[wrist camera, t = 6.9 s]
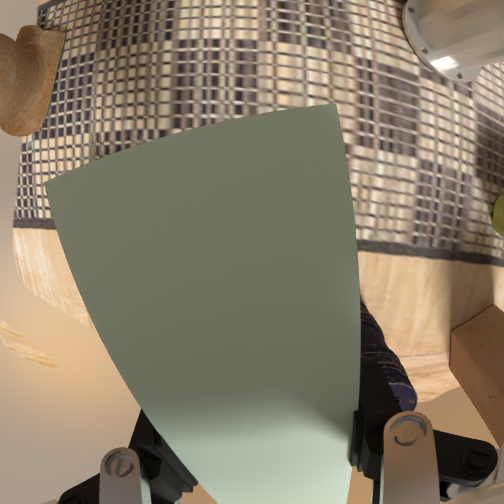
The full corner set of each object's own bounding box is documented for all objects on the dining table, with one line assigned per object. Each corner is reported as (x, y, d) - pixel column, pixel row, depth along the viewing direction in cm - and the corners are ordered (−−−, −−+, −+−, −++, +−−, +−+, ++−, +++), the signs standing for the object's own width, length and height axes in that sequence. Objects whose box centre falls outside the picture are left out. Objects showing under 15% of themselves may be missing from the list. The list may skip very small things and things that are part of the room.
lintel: (126, 165, 8) (43, 182, 4) (294, 125, 8) (335, 103, 4) (242, 468, 13) (242, 527, 9) (331, 455, 13) (344, 513, 9)
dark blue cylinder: (325, 368, 38) (349, 457, 24) (279, 330, 35) (291, 428, 21) (383, 325, 35) (431, 406, 21) (343, 278, 33) (393, 363, 19)
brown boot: (60, 139, 27) (-34, 150, 13) (3, 134, 26) (-79, 146, 12) (93, 21, 22) (17, -22, 8) (29, 31, 21) (-44, 11, 7)
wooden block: (449, 330, 36) (518, 419, 17) (494, 302, 35) (567, 373, 16) (448, 370, 39) (500, 451, 20) (489, 343, 38) (546, 413, 19)
